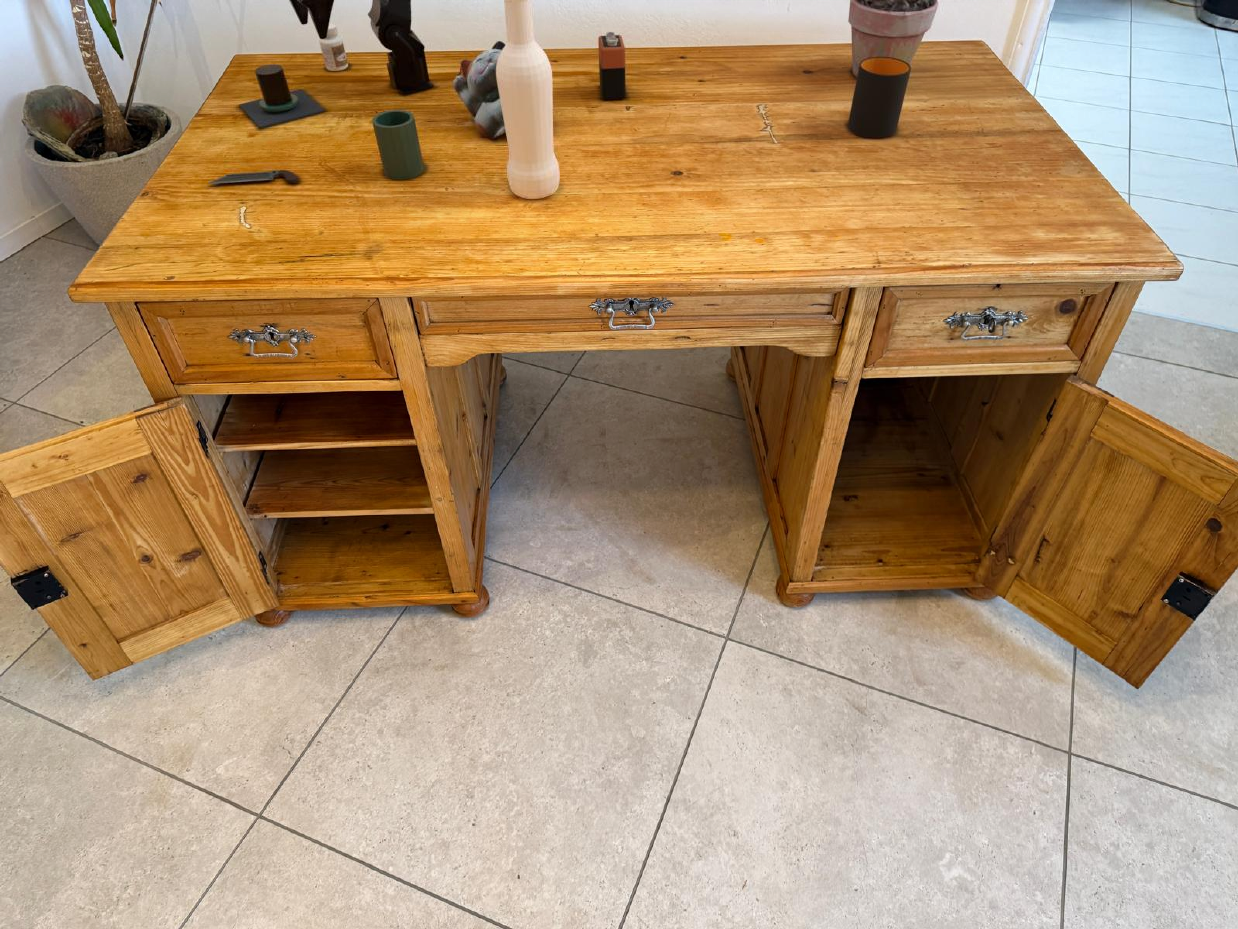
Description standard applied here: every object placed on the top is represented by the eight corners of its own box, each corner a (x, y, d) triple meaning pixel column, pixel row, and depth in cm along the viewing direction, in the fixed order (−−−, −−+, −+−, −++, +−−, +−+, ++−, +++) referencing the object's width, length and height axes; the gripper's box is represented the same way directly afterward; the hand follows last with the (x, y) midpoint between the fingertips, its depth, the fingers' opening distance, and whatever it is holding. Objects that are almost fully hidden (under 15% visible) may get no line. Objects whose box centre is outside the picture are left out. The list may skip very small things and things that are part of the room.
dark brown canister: (307, 105, 149) (296, 67, 144) (275, 118, 145) (263, 79, 140) (285, 96, 152) (273, 59, 147) (254, 108, 148) (241, 70, 143)
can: (413, 157, 135) (403, 106, 129) (430, 172, 131) (420, 120, 125) (378, 168, 132) (365, 116, 126) (394, 183, 129) (382, 130, 122)
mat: (301, 90, 155) (301, 88, 154) (324, 111, 148) (324, 109, 148) (239, 106, 150) (238, 104, 150) (260, 128, 143) (259, 126, 143)
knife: (301, 171, 131) (300, 167, 131) (297, 183, 129) (296, 179, 128) (213, 177, 130) (211, 173, 130) (207, 189, 128) (205, 185, 127)
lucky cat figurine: (478, 146, 137) (440, 61, 131) (480, 144, 148) (445, 66, 142) (559, 110, 136) (524, 23, 131) (555, 111, 147) (522, 31, 142)
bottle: (509, 177, 129) (484, -36, 108) (559, 174, 130) (545, -38, 108) (508, 202, 124) (482, -17, 102) (561, 199, 124) (546, -20, 103)
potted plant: (837, 49, 166) (862, -96, 147) (934, 64, 159) (972, -85, 141) (810, 81, 154) (834, -72, 136) (913, 98, 148) (952, -59, 130)
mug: (874, 107, 146) (887, 46, 138) (904, 135, 138) (920, 72, 130) (831, 112, 145) (842, 50, 137) (859, 140, 137) (872, 77, 129)
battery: (602, 100, 150) (600, 43, 142) (599, 86, 154) (597, 29, 147) (625, 99, 150) (625, 41, 143) (622, 85, 154) (621, 28, 147)
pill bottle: (343, 72, 161) (332, 30, 155) (322, 70, 161) (311, 29, 156) (352, 64, 164) (342, 22, 158) (332, 62, 164) (321, 21, 159)
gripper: (220, -77, 133) (251, 25, 145) (256, -52, 123) (287, 56, 134) (286, -87, 138) (311, 13, 149) (326, -64, 127) (350, 42, 138)
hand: (313, 31), depth 143 cm, fingers open, 9 cm apart
